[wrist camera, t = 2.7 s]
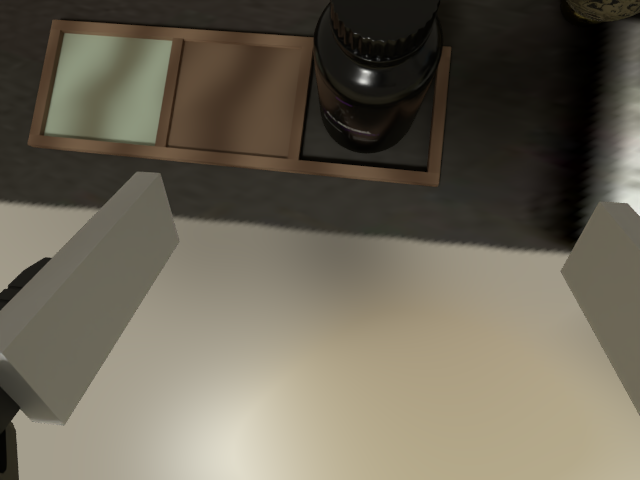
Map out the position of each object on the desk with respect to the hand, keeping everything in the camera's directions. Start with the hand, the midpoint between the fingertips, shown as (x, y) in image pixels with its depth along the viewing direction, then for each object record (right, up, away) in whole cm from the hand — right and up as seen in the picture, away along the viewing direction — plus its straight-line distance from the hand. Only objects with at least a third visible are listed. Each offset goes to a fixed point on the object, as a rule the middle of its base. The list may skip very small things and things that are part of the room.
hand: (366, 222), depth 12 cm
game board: (-8, +10, +17) cm, 21 cm away
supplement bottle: (+2, +9, +16) cm, 19 cm away
